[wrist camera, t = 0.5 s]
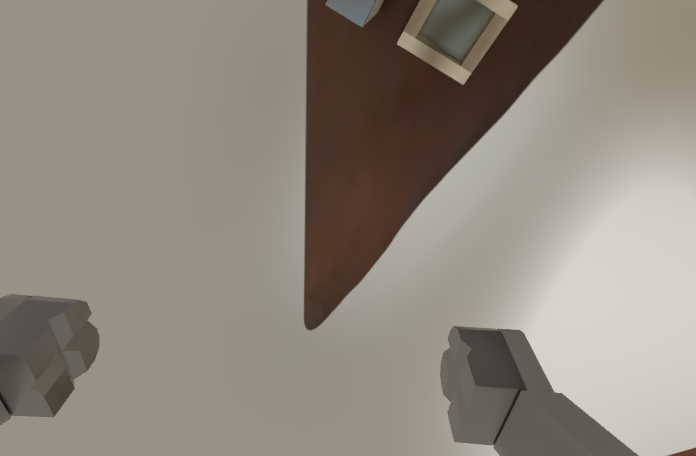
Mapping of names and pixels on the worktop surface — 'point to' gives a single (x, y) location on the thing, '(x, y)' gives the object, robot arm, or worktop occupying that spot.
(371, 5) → the peg
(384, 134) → the worktop surface
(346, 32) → the worktop surface
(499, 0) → the holder
